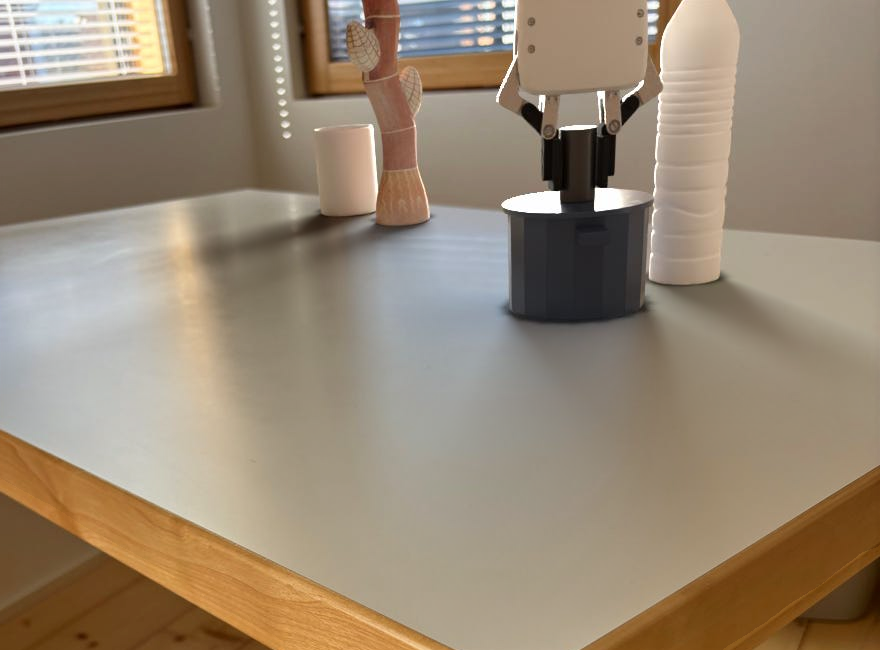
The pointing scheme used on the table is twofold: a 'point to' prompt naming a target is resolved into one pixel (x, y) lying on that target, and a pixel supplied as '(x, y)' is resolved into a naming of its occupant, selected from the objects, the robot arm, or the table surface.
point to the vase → (391, 111)
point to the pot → (577, 267)
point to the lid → (578, 186)
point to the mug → (346, 169)
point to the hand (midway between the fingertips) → (577, 186)
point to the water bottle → (693, 142)
